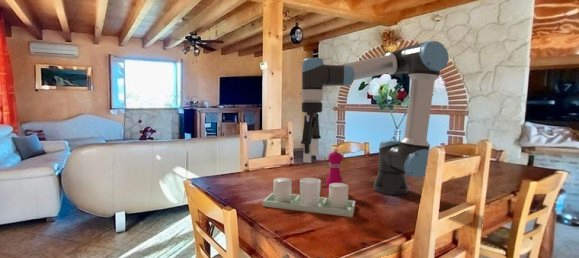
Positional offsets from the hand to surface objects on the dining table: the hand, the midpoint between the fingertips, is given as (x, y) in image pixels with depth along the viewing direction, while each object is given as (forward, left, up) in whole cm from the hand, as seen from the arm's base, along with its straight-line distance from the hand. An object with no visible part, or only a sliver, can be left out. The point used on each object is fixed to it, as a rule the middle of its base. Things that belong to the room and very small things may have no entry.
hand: (311, 158), depth 117 cm
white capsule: (+11, 0, -18) cm, 21 cm away
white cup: (0, 0, -18) cm, 18 cm away
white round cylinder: (-11, 0, -18) cm, 21 cm away
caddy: (0, 0, -19) cm, 19 cm away
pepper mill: (-6, -21, -19) cm, 29 cm away
